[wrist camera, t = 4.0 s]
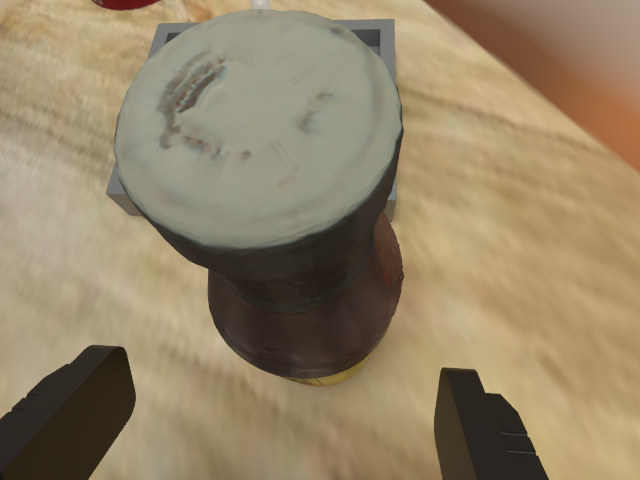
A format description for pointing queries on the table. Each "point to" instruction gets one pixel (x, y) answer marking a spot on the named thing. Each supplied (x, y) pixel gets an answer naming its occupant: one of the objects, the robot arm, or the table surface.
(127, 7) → the canned food
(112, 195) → the pin tray
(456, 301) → the table surface
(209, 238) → the sauce bottle
